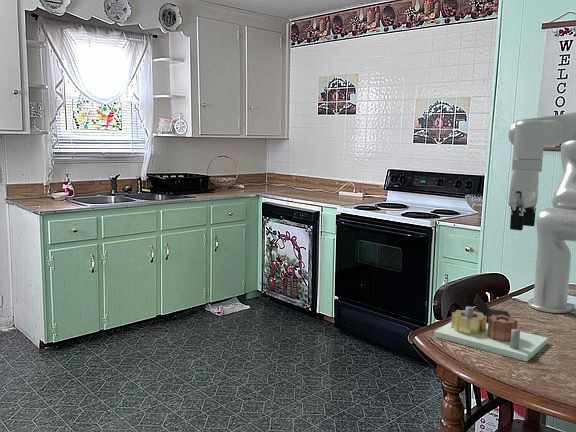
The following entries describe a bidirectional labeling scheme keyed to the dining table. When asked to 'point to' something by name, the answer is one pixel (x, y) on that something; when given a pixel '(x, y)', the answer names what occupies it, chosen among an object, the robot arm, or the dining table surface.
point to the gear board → (496, 341)
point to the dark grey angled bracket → (483, 308)
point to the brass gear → (468, 322)
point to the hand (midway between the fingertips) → (522, 227)
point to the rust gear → (501, 327)
